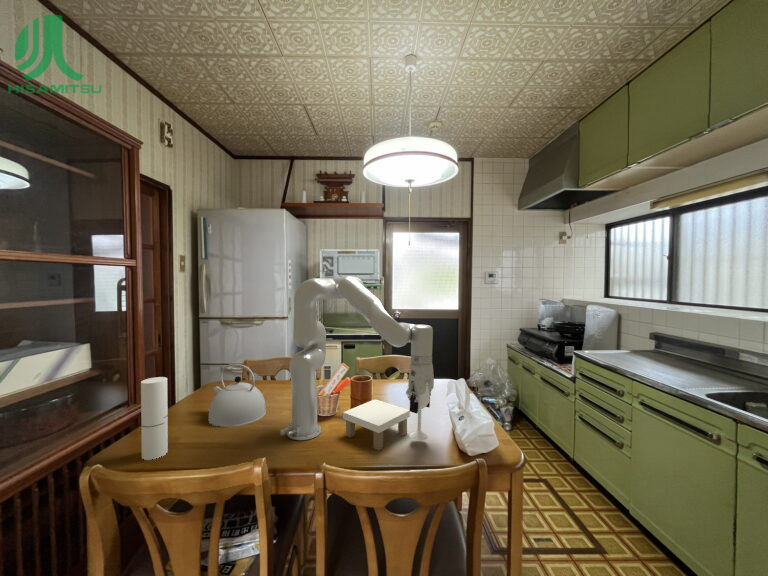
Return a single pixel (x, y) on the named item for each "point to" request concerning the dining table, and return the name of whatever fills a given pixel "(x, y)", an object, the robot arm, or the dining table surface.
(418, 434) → the champagne flute
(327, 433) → the dining table surface
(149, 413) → the cylindrical container
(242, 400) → the kettle
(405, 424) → the footstool
